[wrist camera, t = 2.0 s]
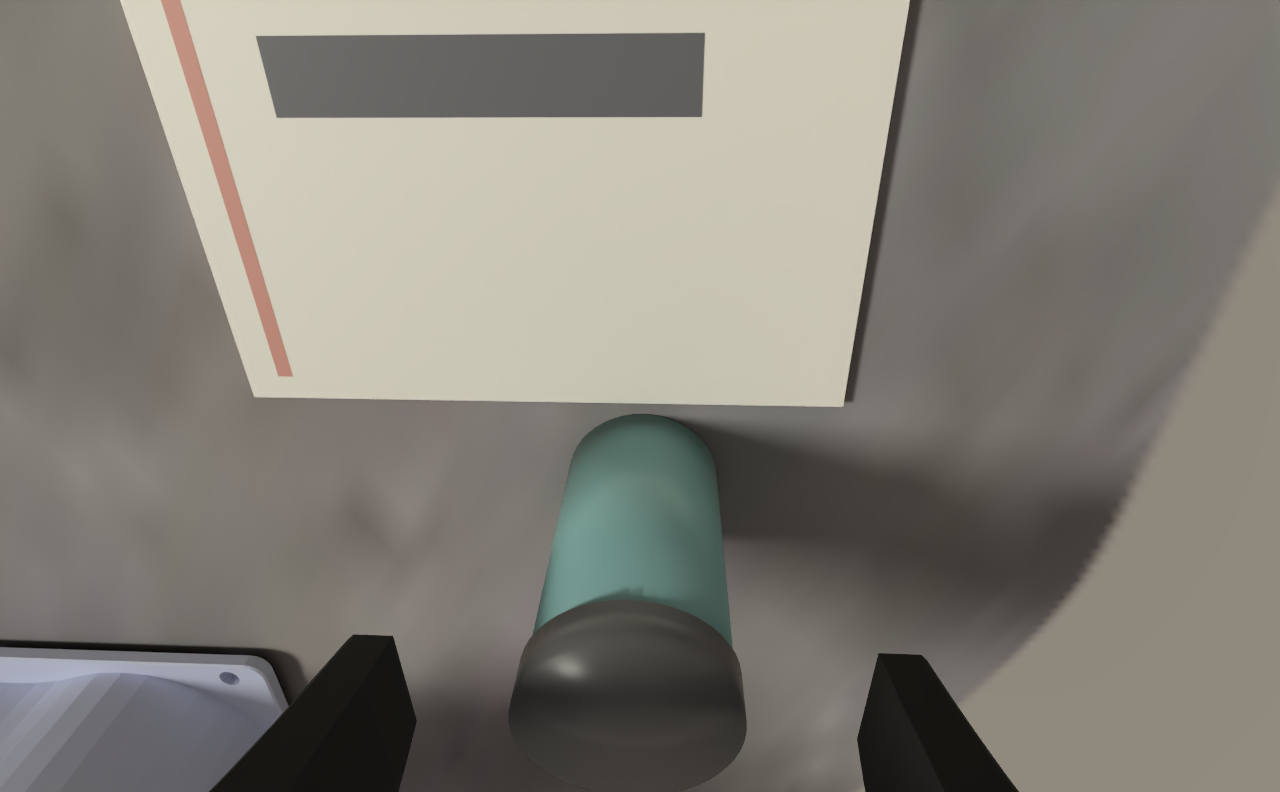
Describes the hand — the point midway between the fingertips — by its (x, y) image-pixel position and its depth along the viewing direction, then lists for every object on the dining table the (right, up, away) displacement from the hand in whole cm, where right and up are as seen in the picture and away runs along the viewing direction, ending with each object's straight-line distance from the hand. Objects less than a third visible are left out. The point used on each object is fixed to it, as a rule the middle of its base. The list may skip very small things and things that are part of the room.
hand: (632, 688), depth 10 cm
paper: (-2, +10, +1) cm, 10 cm away
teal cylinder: (0, +3, +5) cm, 5 cm away
